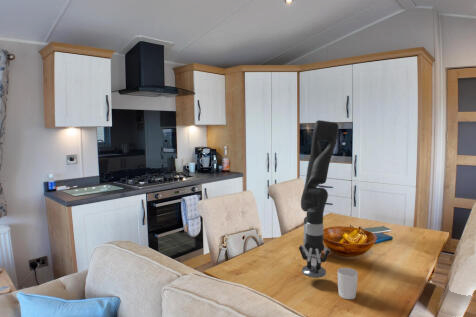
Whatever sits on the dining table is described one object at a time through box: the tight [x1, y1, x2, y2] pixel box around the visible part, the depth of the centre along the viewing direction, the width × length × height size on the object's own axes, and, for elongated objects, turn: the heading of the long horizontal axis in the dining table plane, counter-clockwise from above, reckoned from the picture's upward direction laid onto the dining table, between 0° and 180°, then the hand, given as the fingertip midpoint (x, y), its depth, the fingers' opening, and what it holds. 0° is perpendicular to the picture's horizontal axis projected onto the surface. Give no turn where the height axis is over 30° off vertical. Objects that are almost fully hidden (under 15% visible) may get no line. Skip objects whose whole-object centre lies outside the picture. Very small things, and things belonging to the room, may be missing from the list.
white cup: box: [336, 267, 359, 300], centre depth 131 cm, size 8×8×10 cm
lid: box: [301, 255, 327, 279], centre depth 142 cm, size 10×10×7 cm
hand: (313, 269), depth 143 cm, fingers closed on lid, 3 cm apart
